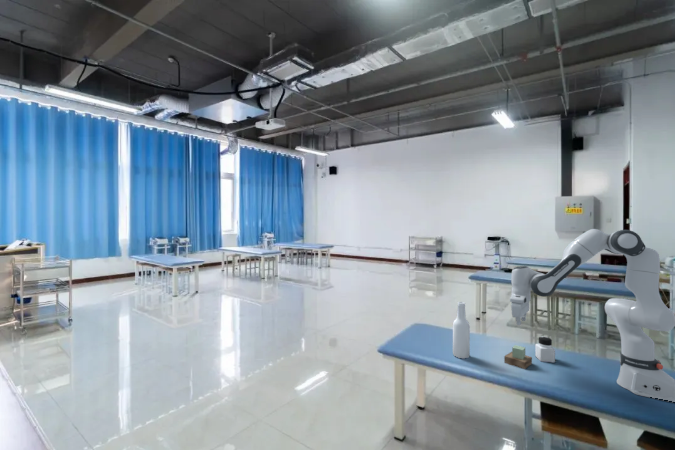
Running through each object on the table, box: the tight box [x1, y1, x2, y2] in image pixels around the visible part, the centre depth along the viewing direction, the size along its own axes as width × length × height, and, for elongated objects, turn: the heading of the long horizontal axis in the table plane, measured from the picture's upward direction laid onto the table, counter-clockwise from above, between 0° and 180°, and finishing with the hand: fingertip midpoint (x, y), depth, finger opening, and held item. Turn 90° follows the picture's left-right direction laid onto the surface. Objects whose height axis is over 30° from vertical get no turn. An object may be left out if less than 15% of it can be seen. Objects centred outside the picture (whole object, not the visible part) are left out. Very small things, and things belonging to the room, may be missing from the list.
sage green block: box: [511, 344, 526, 360], centre depth 169 cm, size 5×5×5 cm
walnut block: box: [503, 351, 533, 370], centre depth 169 cm, size 10×10×4 cm
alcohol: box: [452, 301, 471, 360], centre depth 179 cm, size 9×9×30 cm
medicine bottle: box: [534, 335, 556, 363], centre depth 175 cm, size 7×7×12 cm
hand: (521, 322), depth 169 cm, fingers open, 8 cm apart
